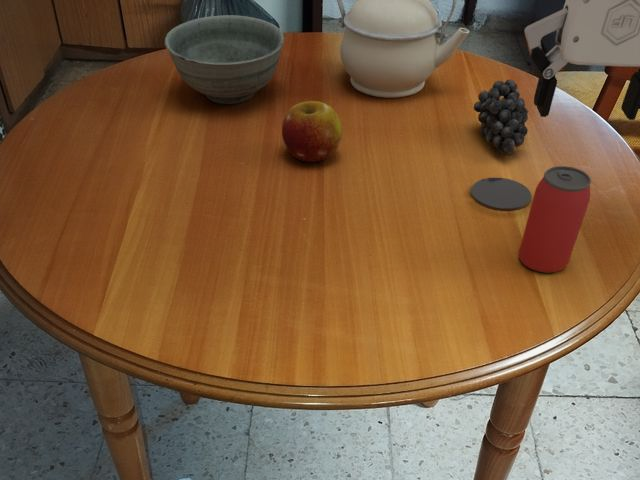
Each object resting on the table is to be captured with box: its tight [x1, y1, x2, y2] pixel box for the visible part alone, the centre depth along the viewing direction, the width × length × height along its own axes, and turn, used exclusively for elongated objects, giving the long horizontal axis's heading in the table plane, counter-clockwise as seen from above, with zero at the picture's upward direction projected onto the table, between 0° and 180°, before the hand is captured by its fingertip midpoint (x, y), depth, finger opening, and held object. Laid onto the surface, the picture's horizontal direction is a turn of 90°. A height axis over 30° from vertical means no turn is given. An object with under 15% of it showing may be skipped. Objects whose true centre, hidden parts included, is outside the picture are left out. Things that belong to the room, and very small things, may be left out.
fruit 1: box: [281, 100, 343, 163], centre depth 107 cm, size 10×9×8 cm
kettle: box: [336, 0, 470, 99], centre depth 120 cm, size 25×18×25 cm
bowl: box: [164, 14, 285, 105], centre depth 121 cm, size 21×21×10 cm
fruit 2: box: [473, 79, 529, 156], centre depth 111 cm, size 9×8×15 cm
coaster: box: [470, 177, 532, 211], centre depth 102 cm, size 9×9×1 cm
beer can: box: [518, 165, 592, 274], centre depth 86 cm, size 7×7×12 cm
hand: (584, 113), depth 76 cm, fingers open, 9 cm apart
